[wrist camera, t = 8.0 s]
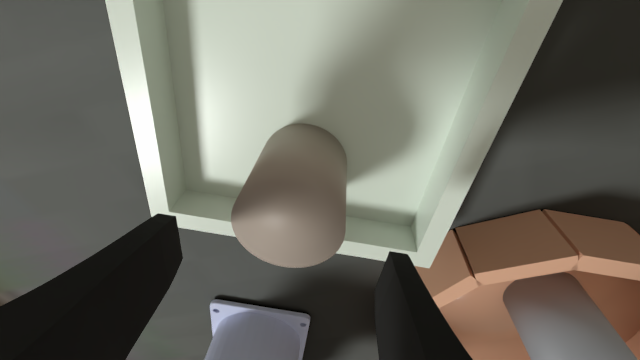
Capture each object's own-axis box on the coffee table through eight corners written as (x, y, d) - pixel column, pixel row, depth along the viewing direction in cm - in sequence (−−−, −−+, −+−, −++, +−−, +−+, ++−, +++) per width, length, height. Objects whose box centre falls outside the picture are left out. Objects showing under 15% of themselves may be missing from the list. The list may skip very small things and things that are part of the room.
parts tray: (419, 230, 19) (429, 268, 16) (179, 191, 19) (152, 223, 16) (570, -124, 10) (641, -158, 8) (124, -199, 10) (49, -259, 8)
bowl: (560, 386, 27) (585, 435, 24) (360, 354, 27) (361, 399, 24) (740, 241, 17) (819, 293, 14) (427, 189, 17) (442, 232, 14)
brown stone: (339, 203, 17) (335, 275, 13) (261, 190, 17) (232, 258, 13) (354, 131, 15) (356, 190, 11) (264, 116, 15) (229, 170, 11)
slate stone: (559, 317, 21) (612, 402, 17) (492, 310, 21) (528, 392, 17) (594, 274, 18) (665, 360, 14) (518, 266, 19) (567, 350, 14)
